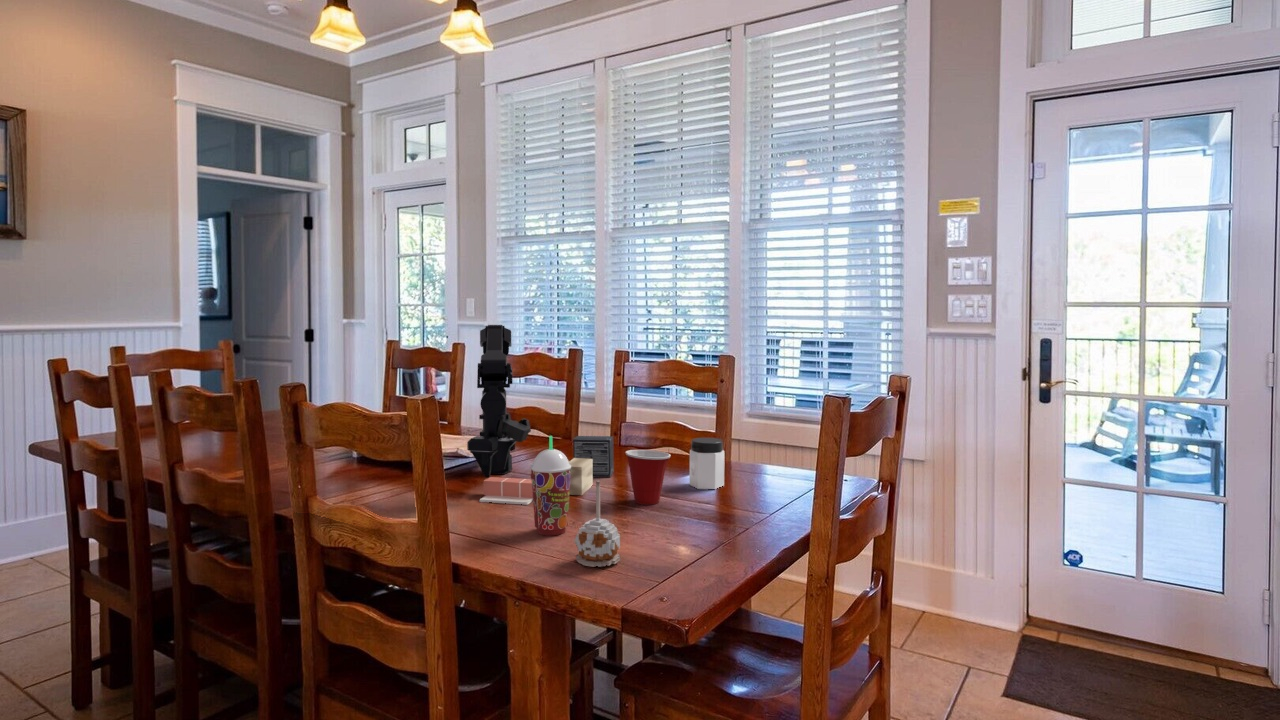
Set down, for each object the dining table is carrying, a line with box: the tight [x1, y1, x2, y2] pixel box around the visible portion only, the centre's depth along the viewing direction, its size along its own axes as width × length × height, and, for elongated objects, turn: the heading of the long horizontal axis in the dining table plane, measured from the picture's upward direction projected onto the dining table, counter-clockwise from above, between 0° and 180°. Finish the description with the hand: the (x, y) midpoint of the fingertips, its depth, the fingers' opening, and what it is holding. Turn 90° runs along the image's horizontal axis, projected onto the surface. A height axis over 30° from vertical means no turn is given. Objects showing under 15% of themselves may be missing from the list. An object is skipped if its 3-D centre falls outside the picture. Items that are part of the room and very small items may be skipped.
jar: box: [688, 437, 725, 490], centre depth 188 cm, size 9×8×12 cm
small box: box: [572, 435, 614, 478], centre depth 201 cm, size 11×6×10 cm, turn 84°
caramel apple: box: [574, 480, 621, 568], centre depth 132 cm, size 8×8×15 cm
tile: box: [479, 495, 533, 506], centre depth 177 cm, size 12×12×1 cm
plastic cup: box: [625, 449, 671, 506], centre depth 173 cm, size 11×11×12 cm
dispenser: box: [568, 458, 594, 496], centre depth 185 cm, size 11×10×7 cm
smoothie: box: [529, 435, 571, 537], centre depth 150 cm, size 8×8×20 cm
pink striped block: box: [483, 476, 533, 498], centre depth 177 cm, size 14×4×4 cm, turn 78°
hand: (495, 473), depth 178 cm, fingers open, 9 cm apart
